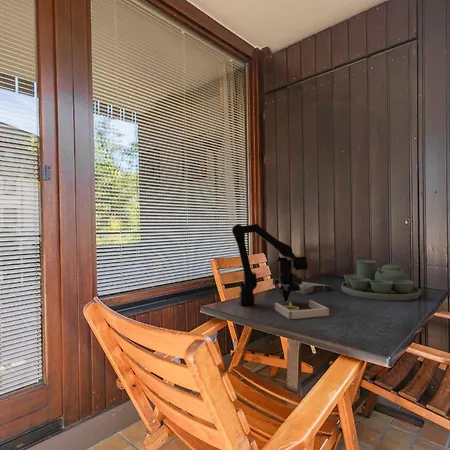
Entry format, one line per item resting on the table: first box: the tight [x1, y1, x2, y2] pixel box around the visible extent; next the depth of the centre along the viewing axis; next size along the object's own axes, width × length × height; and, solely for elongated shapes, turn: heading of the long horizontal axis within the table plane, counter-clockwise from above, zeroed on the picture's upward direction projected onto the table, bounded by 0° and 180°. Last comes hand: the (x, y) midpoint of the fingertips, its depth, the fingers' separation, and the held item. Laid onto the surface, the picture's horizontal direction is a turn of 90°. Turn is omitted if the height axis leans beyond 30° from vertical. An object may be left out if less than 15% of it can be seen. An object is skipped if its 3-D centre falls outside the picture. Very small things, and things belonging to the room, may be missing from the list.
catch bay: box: [274, 299, 330, 320], centre depth 136 cm, size 18×15×3 cm
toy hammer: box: [274, 281, 332, 295], centre depth 186 cm, size 24×4×30 cm
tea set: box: [340, 259, 422, 302], centre depth 173 cm, size 40×40×16 cm
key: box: [283, 300, 300, 311], centre depth 144 cm, size 7×12×2 cm, turn 8°
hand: (285, 301), depth 151 cm, fingers closed
